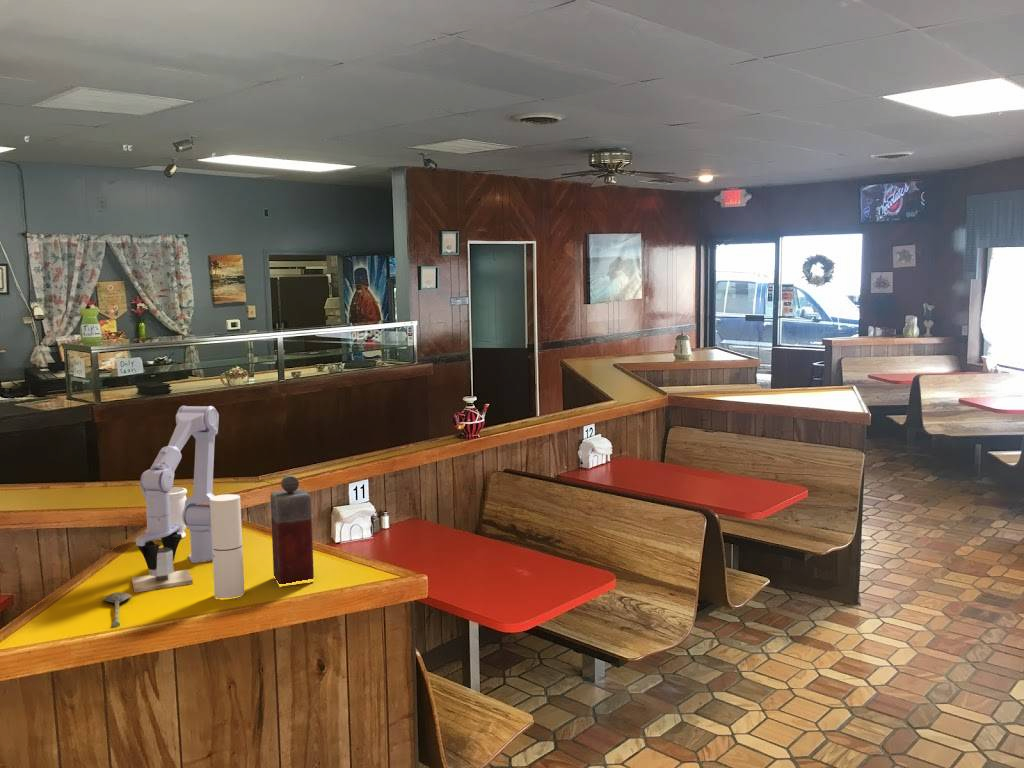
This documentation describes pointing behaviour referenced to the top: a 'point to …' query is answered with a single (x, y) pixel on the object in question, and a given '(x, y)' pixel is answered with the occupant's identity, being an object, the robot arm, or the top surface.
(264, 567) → the top surface
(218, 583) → the cylindrical container
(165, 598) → the top surface
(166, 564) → the collar
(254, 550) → the top surface
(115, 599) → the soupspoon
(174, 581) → the board
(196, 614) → the top surface
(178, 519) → the jar
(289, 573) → the ball-stopper bottle
